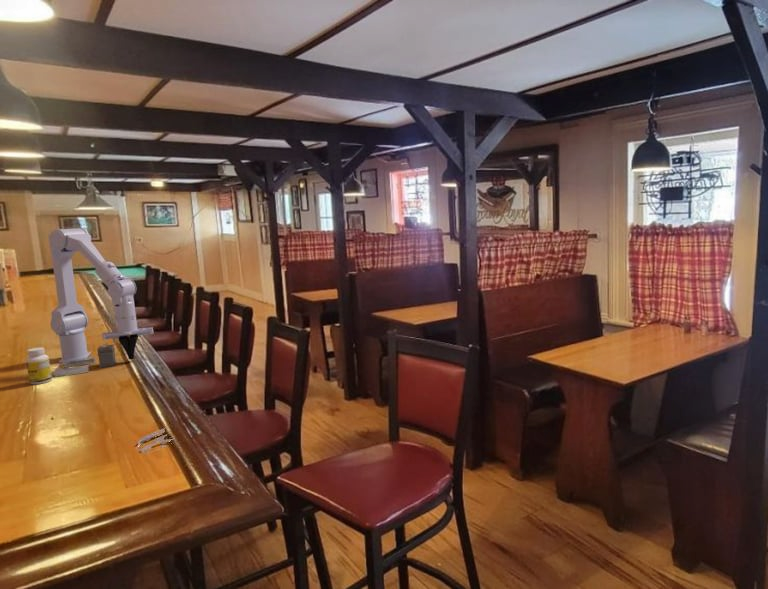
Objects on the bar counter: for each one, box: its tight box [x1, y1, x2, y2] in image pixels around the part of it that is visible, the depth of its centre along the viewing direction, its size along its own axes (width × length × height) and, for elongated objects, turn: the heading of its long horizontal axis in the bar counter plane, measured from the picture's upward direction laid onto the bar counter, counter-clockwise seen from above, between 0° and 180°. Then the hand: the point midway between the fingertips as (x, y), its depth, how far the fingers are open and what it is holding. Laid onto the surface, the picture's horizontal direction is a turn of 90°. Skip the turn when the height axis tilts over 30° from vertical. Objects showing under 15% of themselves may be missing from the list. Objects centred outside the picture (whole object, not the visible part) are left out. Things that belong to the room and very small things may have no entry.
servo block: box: [97, 343, 117, 368], centre depth 162 cm, size 6×4×7 cm, turn 21°
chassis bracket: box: [53, 357, 96, 378], centre depth 159 cm, size 13×9×2 cm
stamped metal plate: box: [134, 427, 173, 455], centre depth 101 cm, size 8×7×2 cm
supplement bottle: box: [25, 346, 53, 385], centre depth 147 cm, size 5×5×10 cm
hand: (131, 358), depth 165 cm, fingers closed
